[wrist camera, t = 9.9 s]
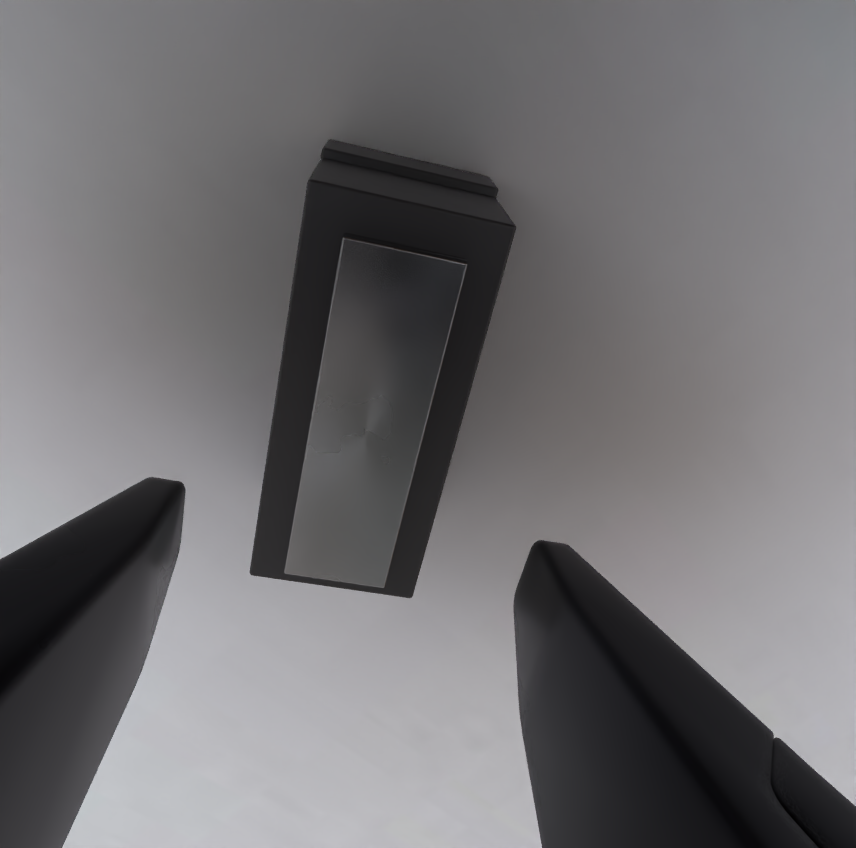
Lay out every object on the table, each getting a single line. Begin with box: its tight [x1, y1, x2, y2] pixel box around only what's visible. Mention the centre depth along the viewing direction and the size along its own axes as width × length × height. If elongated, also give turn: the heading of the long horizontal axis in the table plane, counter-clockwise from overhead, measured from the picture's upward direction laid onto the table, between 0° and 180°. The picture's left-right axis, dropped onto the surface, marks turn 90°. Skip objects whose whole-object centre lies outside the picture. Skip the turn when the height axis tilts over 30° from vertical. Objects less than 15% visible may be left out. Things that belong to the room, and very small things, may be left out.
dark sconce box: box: [250, 140, 516, 598], centre depth 13 cm, size 8×3×4 cm, turn 167°
